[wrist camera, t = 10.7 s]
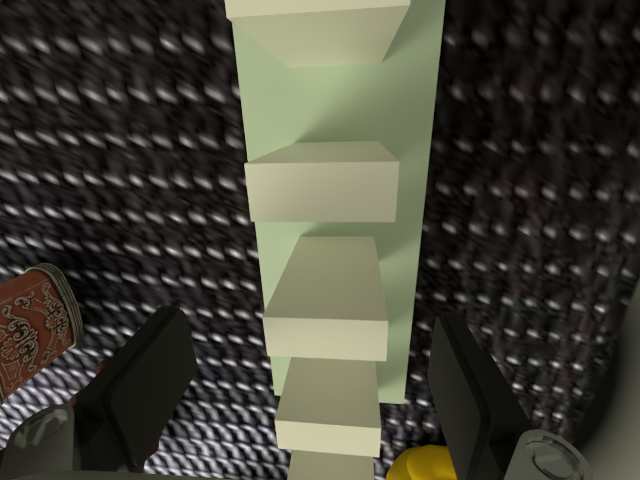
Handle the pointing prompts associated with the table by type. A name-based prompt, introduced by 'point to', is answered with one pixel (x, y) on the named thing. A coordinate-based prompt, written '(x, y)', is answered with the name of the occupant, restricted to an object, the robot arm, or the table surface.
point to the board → (352, 125)
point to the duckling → (423, 464)
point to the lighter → (35, 324)
